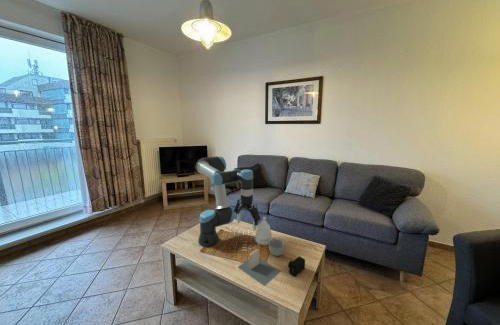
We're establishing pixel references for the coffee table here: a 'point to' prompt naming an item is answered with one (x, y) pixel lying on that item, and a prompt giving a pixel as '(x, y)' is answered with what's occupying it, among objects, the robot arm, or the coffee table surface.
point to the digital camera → (296, 266)
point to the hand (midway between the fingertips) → (246, 226)
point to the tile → (254, 259)
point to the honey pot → (263, 233)
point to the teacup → (276, 247)
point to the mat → (260, 271)
